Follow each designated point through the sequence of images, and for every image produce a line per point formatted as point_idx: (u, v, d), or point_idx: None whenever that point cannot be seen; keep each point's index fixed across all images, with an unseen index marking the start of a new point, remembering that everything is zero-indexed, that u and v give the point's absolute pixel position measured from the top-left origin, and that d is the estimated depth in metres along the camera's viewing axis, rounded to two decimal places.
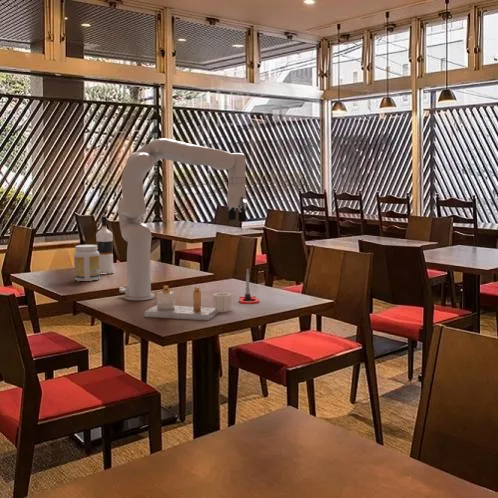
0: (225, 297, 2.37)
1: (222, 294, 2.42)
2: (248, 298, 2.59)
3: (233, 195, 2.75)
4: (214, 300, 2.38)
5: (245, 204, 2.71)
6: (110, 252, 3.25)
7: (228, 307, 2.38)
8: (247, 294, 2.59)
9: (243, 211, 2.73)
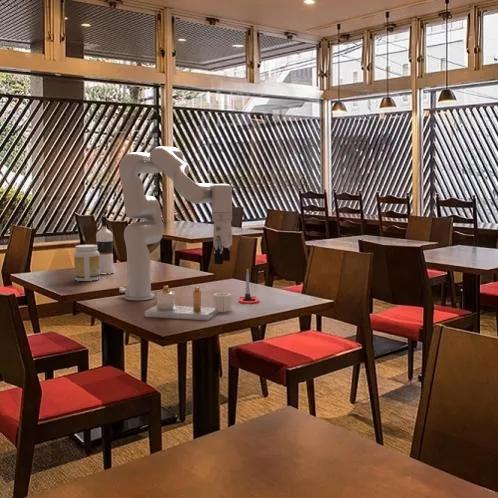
0: (225, 297, 2.37)
1: (222, 294, 2.42)
2: (248, 298, 2.59)
3: (230, 232, 2.38)
4: (214, 300, 2.38)
5: None
6: (110, 252, 3.25)
7: (228, 307, 2.38)
8: (247, 294, 2.59)
9: None
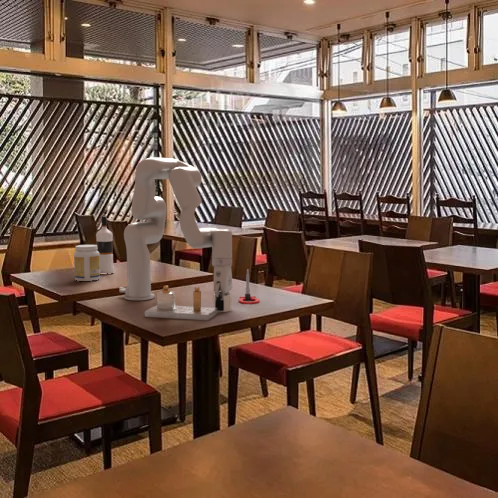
0: (225, 297, 2.37)
1: None
2: (248, 298, 2.59)
3: (230, 276, 2.40)
4: (214, 300, 2.38)
5: None
6: (110, 252, 3.25)
7: (228, 307, 2.38)
8: (247, 294, 2.59)
9: None
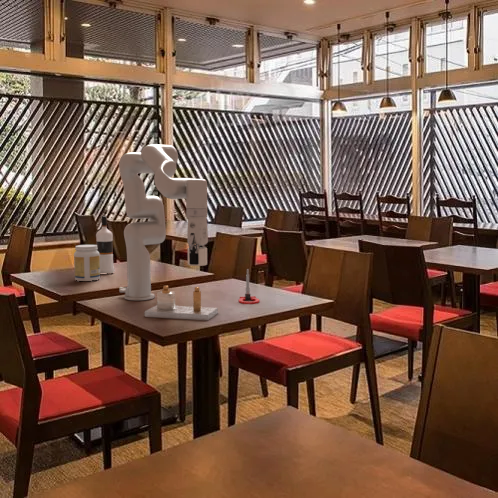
0: (200, 250, 2.25)
1: None
2: (248, 298, 2.59)
3: (206, 229, 2.28)
4: None
5: None
6: (110, 252, 3.25)
7: (203, 261, 2.26)
8: (247, 294, 2.59)
9: None
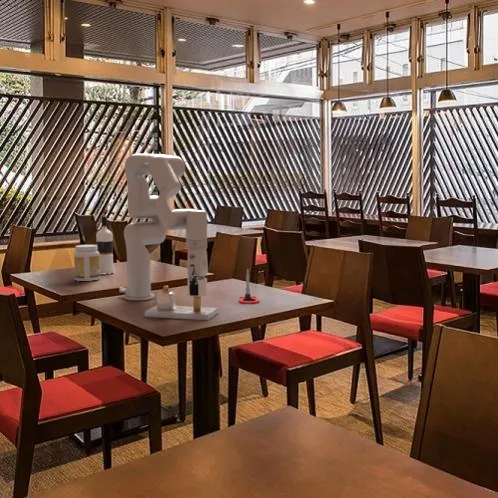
0: (200, 281, 2.26)
1: None
2: (248, 298, 2.59)
3: (206, 260, 2.29)
4: None
5: None
6: (110, 252, 3.25)
7: (203, 292, 2.27)
8: (247, 294, 2.59)
9: None
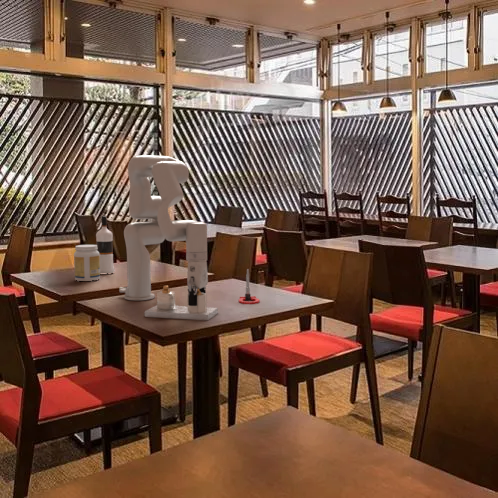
0: (200, 297, 2.26)
1: None
2: (248, 298, 2.59)
3: (206, 272, 2.30)
4: None
5: None
6: (110, 252, 3.25)
7: (203, 307, 2.28)
8: (247, 294, 2.59)
9: None
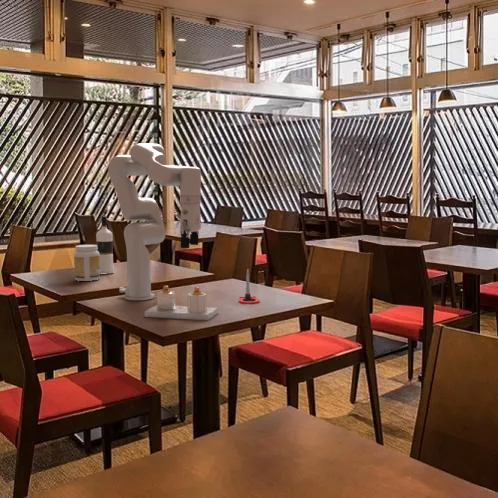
0: (200, 297, 2.26)
1: None
2: (248, 298, 2.59)
3: (199, 216, 2.36)
4: (188, 300, 2.28)
5: None
6: (110, 252, 3.25)
7: (203, 307, 2.28)
8: (247, 294, 2.59)
9: None
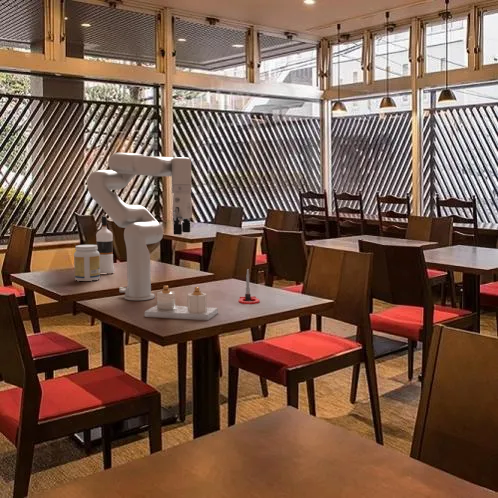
0: (200, 297, 2.26)
1: None
2: (248, 298, 2.59)
3: (190, 204, 2.47)
4: (188, 300, 2.28)
5: None
6: (110, 252, 3.25)
7: (203, 307, 2.28)
8: (247, 294, 2.59)
9: None
